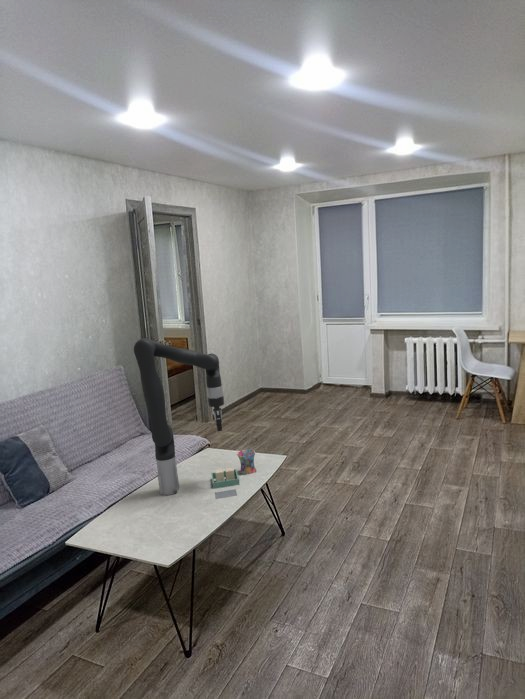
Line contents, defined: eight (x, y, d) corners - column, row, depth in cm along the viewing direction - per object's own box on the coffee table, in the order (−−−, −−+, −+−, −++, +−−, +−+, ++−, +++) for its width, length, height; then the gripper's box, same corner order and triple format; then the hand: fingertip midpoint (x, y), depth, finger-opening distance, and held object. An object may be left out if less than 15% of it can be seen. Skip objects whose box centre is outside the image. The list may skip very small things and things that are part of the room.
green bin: (213, 490, 241) (212, 483, 240) (212, 480, 253) (211, 473, 252) (239, 486, 242) (238, 478, 242) (237, 476, 255) (236, 469, 254)
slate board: (215, 501, 229) (215, 499, 229) (214, 494, 236) (214, 492, 236) (237, 497, 231) (237, 495, 231) (236, 491, 238) (235, 489, 237)
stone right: (227, 483, 246) (225, 471, 245) (226, 480, 250) (224, 468, 249) (235, 482, 246) (233, 470, 246) (234, 478, 250) (232, 467, 249)
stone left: (216, 484, 245) (215, 473, 244) (216, 481, 249) (214, 470, 248) (224, 483, 246) (223, 471, 245) (224, 480, 250) (222, 468, 249)
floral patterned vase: (253, 476, 252) (251, 456, 250) (236, 475, 255) (234, 455, 254) (261, 467, 263) (259, 448, 261) (245, 466, 266) (243, 447, 265)
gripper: (206, 393, 247) (210, 425, 250) (208, 400, 233) (212, 433, 236) (222, 391, 248) (225, 423, 251) (224, 398, 234) (228, 431, 237)
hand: (219, 428), depth 243 cm, fingers open, 8 cm apart
